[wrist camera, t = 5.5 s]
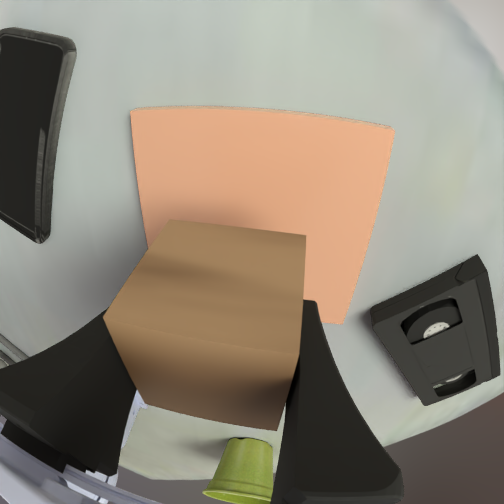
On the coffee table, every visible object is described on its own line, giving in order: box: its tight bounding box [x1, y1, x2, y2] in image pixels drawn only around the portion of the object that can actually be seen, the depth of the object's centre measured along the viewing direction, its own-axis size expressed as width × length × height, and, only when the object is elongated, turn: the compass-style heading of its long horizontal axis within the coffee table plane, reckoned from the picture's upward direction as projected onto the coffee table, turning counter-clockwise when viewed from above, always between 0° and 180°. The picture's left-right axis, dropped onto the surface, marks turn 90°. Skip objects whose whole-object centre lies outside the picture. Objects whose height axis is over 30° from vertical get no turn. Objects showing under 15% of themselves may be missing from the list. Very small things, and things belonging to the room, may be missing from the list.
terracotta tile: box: [130, 106, 395, 324], centre depth 16 cm, size 12×12×1 cm
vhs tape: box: [371, 254, 500, 406], centre depth 19 cm, size 14×8×2 cm, turn 39°
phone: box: [0, 27, 77, 244], centre depth 15 cm, size 8×1×15 cm
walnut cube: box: [103, 219, 306, 431], centre depth 11 cm, size 5×5×5 cm
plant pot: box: [203, 438, 273, 504], centre depth 33 cm, size 9×9×9 cm
